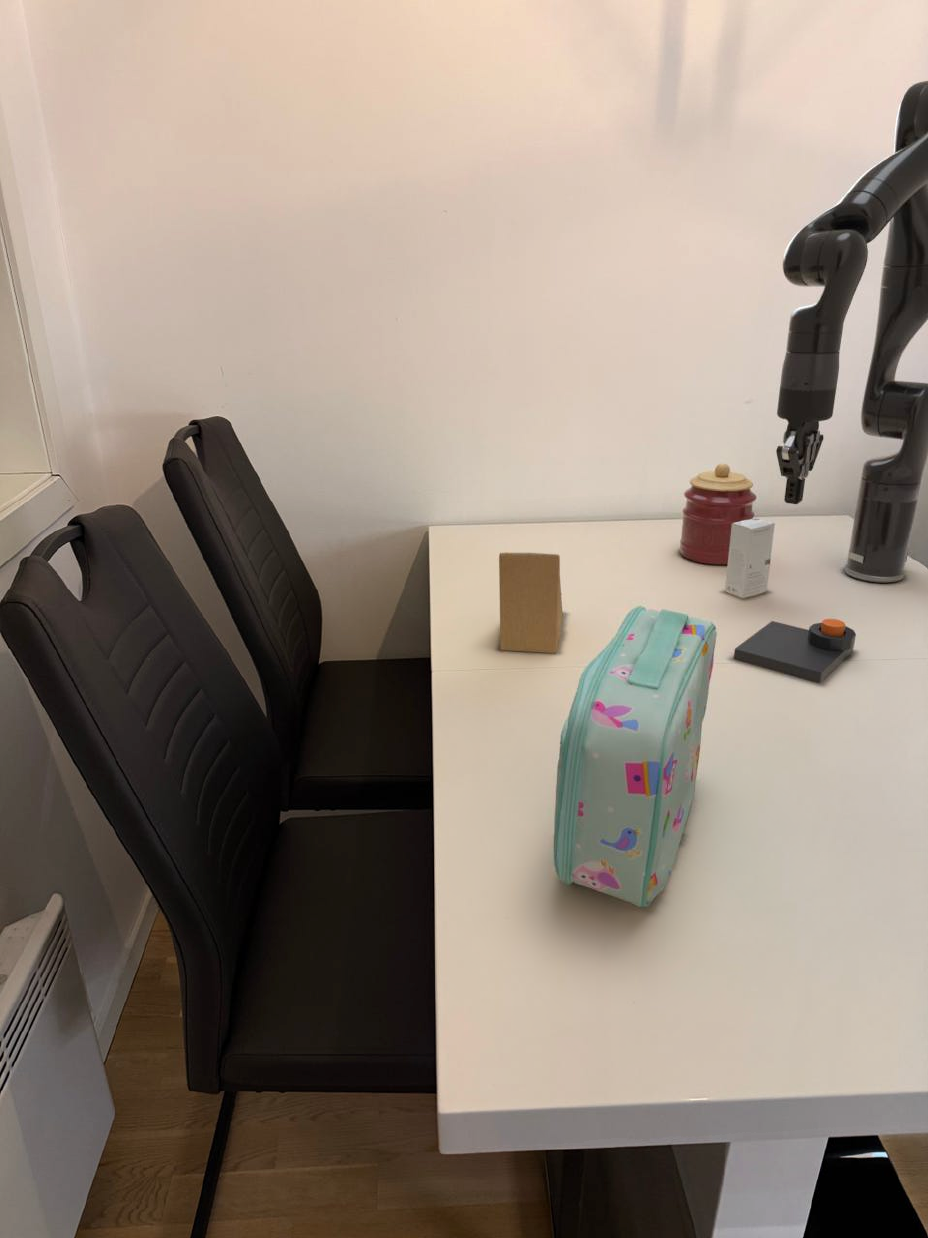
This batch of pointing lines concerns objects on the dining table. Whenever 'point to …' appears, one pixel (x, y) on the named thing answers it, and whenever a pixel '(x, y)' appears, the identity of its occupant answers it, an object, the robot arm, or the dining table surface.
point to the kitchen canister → (714, 513)
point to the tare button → (833, 627)
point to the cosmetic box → (749, 557)
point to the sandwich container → (530, 602)
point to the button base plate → (796, 650)
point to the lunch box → (633, 755)
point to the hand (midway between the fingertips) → (793, 502)
